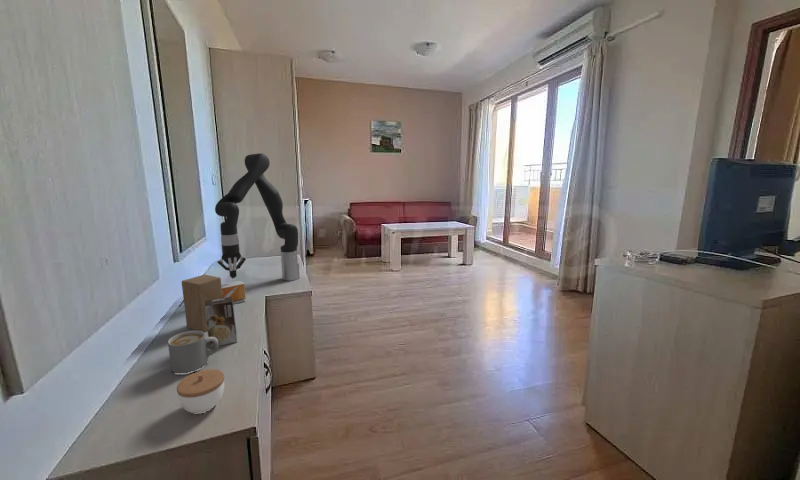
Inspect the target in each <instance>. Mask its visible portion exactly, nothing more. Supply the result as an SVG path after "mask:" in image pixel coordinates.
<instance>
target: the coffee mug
mask: <svg viewBox="0 0 800 480" xmlns="http://www.w3.org/2000/svg"><path fill="white" fill-rule="evenodd" d="M209 341H212V342H213V343H214V347H212V348H211V349H209V348H208V343H209ZM167 345H168V353H169V355H168V356H169V360H170V368H171V372H172V371H173V372H174V373H188V372H191V371H195V370H197V369H199V368H202V367H203V366H205V365H206V364H207V361H208V360H209V357H210V356H212V355H213V354H215V353H216V352H218V350H219V347H220V346H219V344H218V340H217V338H215V337H208V336H206V333H205V332H202V331H196V330H189V331H183V332H180V333H178V334H174V335H173V336H171V337H170V338H169V339H168V340H167ZM208 362H209V361H208ZM207 365H208V364H207ZM207 365H206V366H207ZM206 366H205V367H206Z"/></svg>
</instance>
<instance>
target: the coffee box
mask: <svg viewBox="0 0 800 480" xmlns="http://www.w3.org/2000/svg"><path fill="white" fill-rule="evenodd" d="M205 313H206V321H207V329H208V330H207V335H208V336H207V337H215V338H217V340H218V344H219V346H218V347H220V346H224V345H230V344H235V343H238V333H237V327H236V319H235V318H236V317H235V310H234V304H233V298H232V297H226V298H219V299H212V300H205ZM208 343H209V344H208V345H209V348H210V347H211V348H214V347H213V346H214V343H213V342H212V341H209V342H208Z"/></svg>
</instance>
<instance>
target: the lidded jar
mask: <svg viewBox="0 0 800 480" xmlns="http://www.w3.org/2000/svg"><path fill="white" fill-rule="evenodd" d="M224 391H225V374H224V372H223V371H222V370H220V369H215V368H214V369H201V370H200V371H197V372H195V373H192V374H188V375H186V376H185V377H184V378H182V379H181V380H180V381H179V382H178V383H177V385H176V392H177V398H178V402H179V405H180V406H181V407H182V408H183V410H185V411H186V412H188V413H190V412H191V413H190V414H192V413H199V412H204V411H207V410H209V409H211V408H213V407H214V406H215V405H216V406H217V405H218V404H219V402H220V401H221V400H222V398H223V395H224Z"/></svg>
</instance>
